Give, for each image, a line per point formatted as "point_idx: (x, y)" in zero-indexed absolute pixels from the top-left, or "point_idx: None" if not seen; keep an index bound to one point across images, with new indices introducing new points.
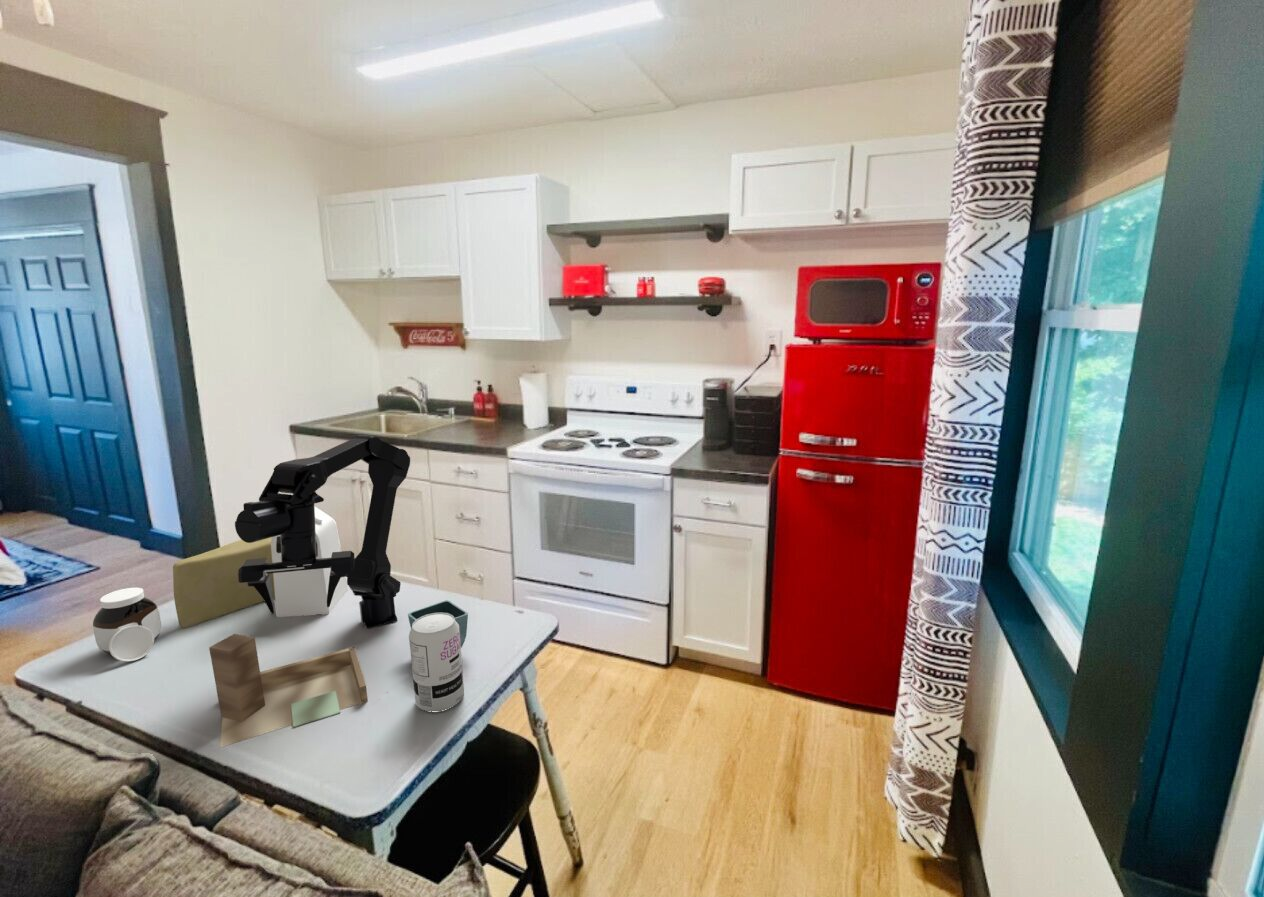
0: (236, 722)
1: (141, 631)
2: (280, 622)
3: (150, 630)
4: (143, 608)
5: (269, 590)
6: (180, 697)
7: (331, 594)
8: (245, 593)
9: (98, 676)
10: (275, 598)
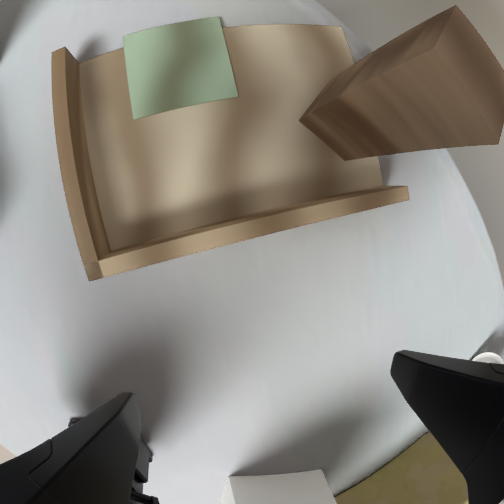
0: None
1: None
2: (314, 458)
3: None
4: None
5: (496, 416)
6: (439, 238)
7: (70, 432)
8: (370, 496)
9: (493, 327)
10: (332, 495)
